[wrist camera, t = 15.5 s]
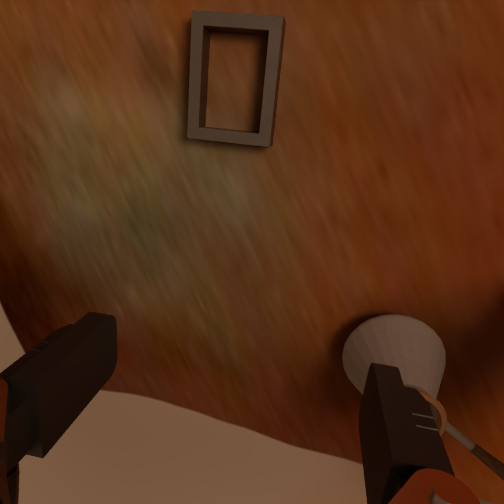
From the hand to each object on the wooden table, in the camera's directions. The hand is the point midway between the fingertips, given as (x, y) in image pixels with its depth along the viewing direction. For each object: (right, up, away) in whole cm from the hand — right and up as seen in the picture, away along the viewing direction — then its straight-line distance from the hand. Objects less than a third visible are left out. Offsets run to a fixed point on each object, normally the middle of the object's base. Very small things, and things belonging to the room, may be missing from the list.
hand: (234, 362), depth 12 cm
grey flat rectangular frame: (-1, +21, +30) cm, 36 cm away
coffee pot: (+22, -10, +36) cm, 44 cm away
